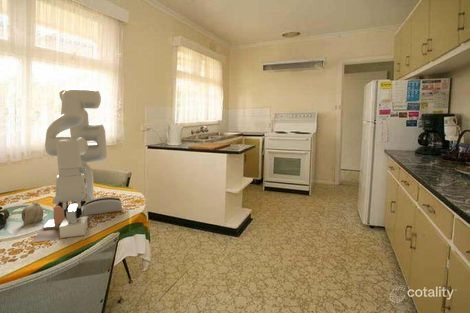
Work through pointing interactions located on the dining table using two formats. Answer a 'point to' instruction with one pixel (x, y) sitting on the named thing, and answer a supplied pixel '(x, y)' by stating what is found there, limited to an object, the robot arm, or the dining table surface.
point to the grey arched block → (103, 205)
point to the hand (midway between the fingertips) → (73, 217)
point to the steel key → (72, 213)
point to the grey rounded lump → (32, 213)
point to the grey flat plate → (51, 234)
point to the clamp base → (51, 224)
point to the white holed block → (73, 228)
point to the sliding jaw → (59, 214)
